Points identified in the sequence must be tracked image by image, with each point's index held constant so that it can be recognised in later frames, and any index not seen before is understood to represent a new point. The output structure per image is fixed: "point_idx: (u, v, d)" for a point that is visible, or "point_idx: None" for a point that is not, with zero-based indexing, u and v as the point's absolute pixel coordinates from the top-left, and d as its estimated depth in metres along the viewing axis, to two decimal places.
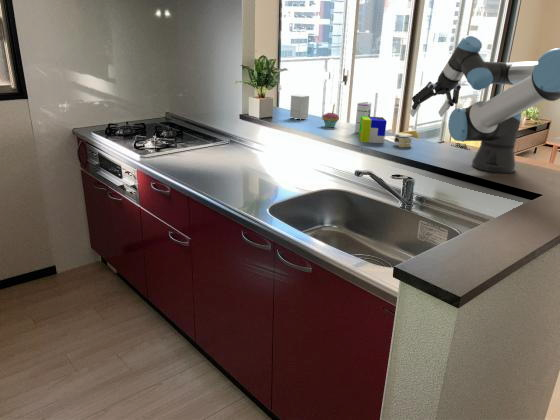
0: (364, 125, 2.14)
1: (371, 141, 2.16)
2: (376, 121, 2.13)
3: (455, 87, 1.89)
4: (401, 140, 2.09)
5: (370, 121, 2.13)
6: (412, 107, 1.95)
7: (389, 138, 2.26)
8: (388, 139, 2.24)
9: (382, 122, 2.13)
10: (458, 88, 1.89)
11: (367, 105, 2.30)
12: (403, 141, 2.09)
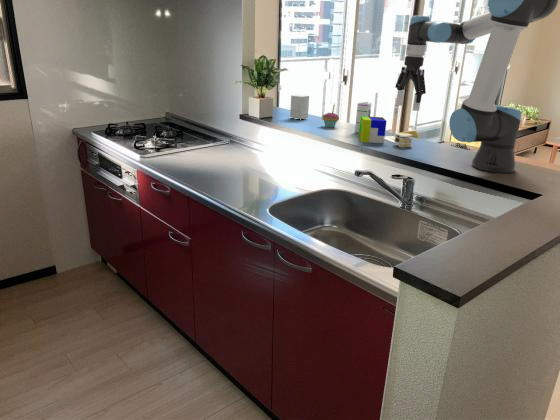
0: (364, 125, 2.14)
1: (371, 141, 2.16)
2: (376, 121, 2.13)
3: None
4: (401, 140, 2.09)
5: (370, 121, 2.13)
6: (419, 101, 1.98)
7: (389, 138, 2.26)
8: (388, 139, 2.24)
9: (382, 122, 2.13)
10: None
11: (367, 105, 2.30)
12: (403, 141, 2.09)
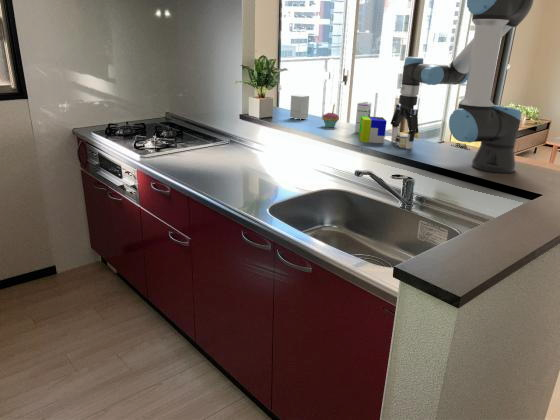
0: (364, 125, 2.14)
1: (371, 141, 2.16)
2: (376, 121, 2.13)
3: None
4: (402, 140, 2.09)
5: (370, 121, 2.13)
6: (412, 140, 2.05)
7: (389, 138, 2.26)
8: (388, 139, 2.24)
9: (382, 122, 2.13)
10: None
11: (367, 105, 2.30)
12: (404, 141, 2.09)
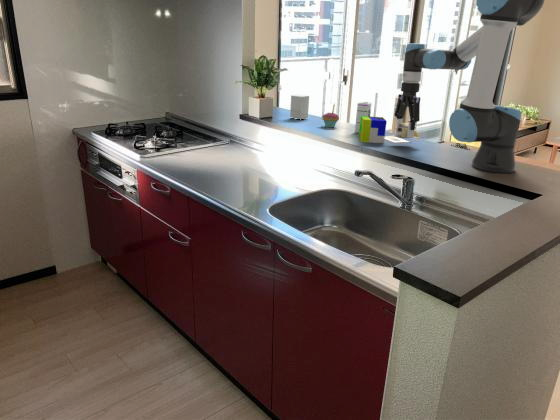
0: (364, 125, 2.14)
1: (371, 141, 2.16)
2: (376, 121, 2.13)
3: None
4: (404, 129, 2.07)
5: (370, 121, 2.13)
6: (413, 129, 2.04)
7: (389, 138, 2.26)
8: (388, 139, 2.24)
9: (382, 122, 2.13)
10: None
11: (367, 105, 2.30)
12: (406, 130, 2.07)
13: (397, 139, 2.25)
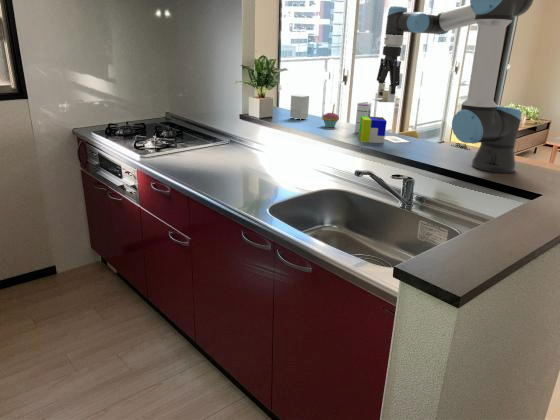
0: (364, 125, 2.14)
1: (371, 141, 2.16)
2: (376, 121, 2.13)
3: None
4: (385, 93, 2.09)
5: (370, 121, 2.13)
6: (393, 93, 2.06)
7: (389, 138, 2.26)
8: (388, 139, 2.24)
9: (382, 122, 2.13)
10: None
11: (367, 105, 2.30)
12: (387, 94, 2.09)
13: (397, 139, 2.25)
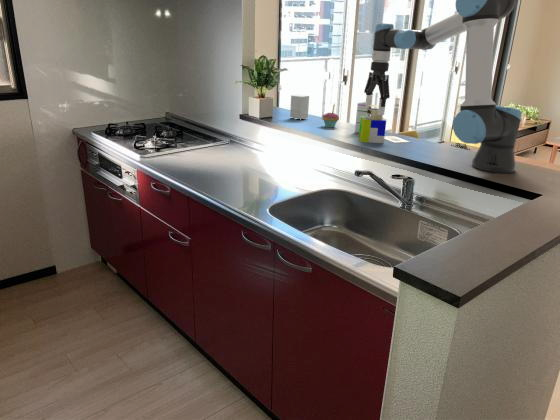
0: (364, 125, 2.14)
1: (371, 141, 2.16)
2: (376, 121, 2.13)
3: None
4: (373, 111, 2.14)
5: (370, 121, 2.13)
6: (383, 105, 2.08)
7: (389, 138, 2.26)
8: (388, 139, 2.24)
9: (382, 122, 2.13)
10: None
11: None
12: (375, 112, 2.14)
13: (397, 139, 2.25)
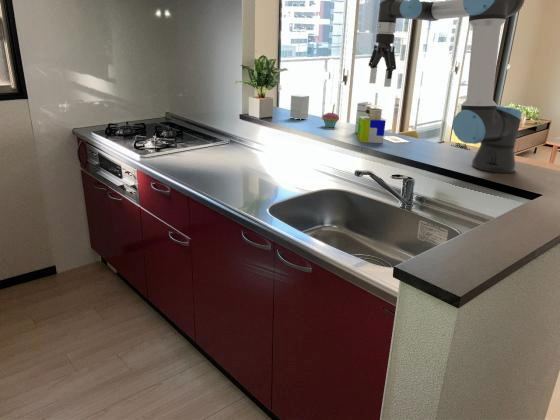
0: (363, 125, 2.14)
1: (370, 141, 2.16)
2: (375, 121, 2.13)
3: None
4: (371, 111, 2.14)
5: (369, 121, 2.13)
6: (390, 77, 2.03)
7: (389, 138, 2.26)
8: (388, 139, 2.24)
9: (381, 122, 2.13)
10: None
11: None
12: (373, 112, 2.14)
13: (397, 139, 2.25)
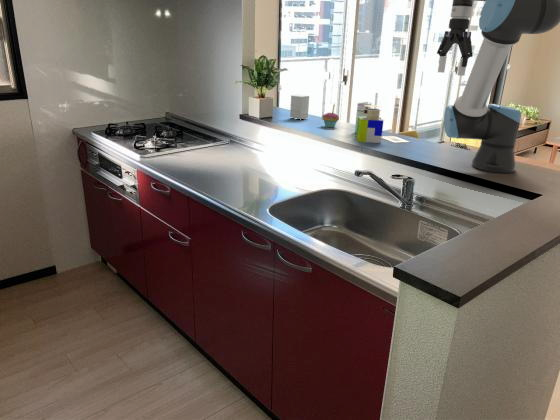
0: (361, 125, 2.14)
1: (368, 141, 2.16)
2: (373, 121, 2.13)
3: None
4: (369, 111, 2.14)
5: (367, 121, 2.13)
6: (465, 65, 1.90)
7: (389, 138, 2.26)
8: (388, 139, 2.24)
9: (379, 122, 2.13)
10: None
11: None
12: (371, 112, 2.14)
13: (397, 139, 2.25)
